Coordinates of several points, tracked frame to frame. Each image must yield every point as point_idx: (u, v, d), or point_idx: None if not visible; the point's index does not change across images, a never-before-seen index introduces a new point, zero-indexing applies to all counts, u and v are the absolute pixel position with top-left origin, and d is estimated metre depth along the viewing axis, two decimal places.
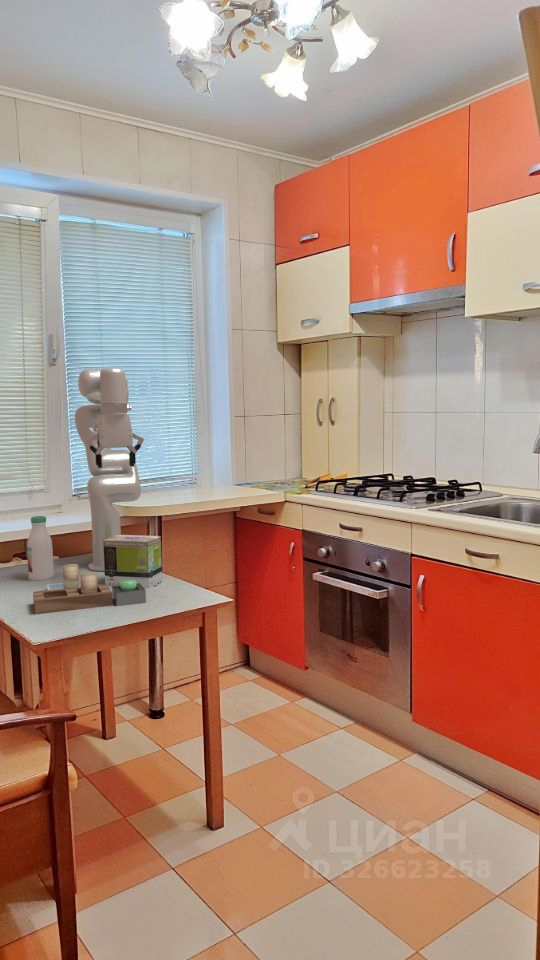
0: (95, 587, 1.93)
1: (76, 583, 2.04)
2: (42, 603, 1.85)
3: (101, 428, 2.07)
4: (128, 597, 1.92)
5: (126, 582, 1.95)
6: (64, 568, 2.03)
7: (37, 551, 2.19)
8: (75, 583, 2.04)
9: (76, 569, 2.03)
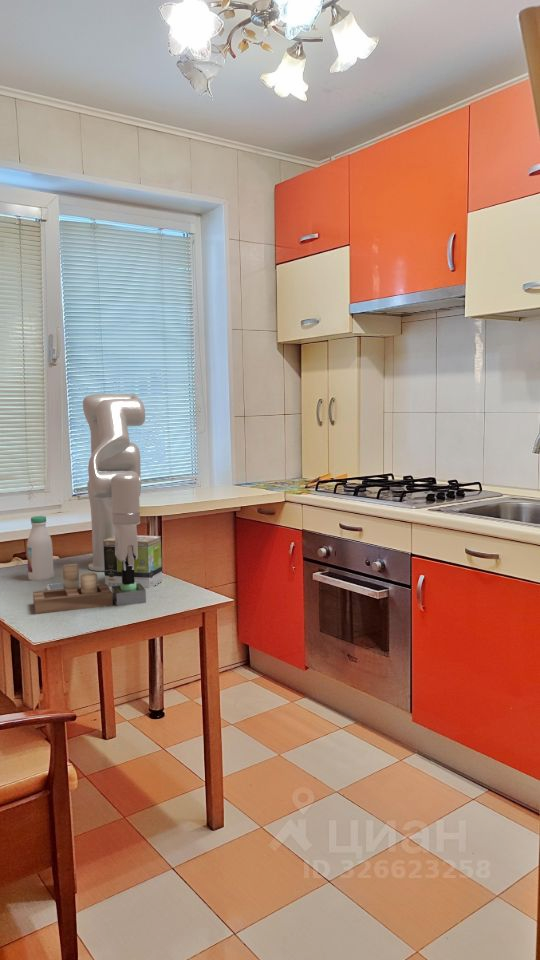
0: (95, 587, 1.93)
1: (76, 583, 2.04)
2: (42, 603, 1.85)
3: None
4: (128, 597, 1.92)
5: (126, 584, 1.95)
6: (64, 568, 2.03)
7: (37, 551, 2.19)
8: (75, 583, 2.04)
9: (76, 569, 2.03)
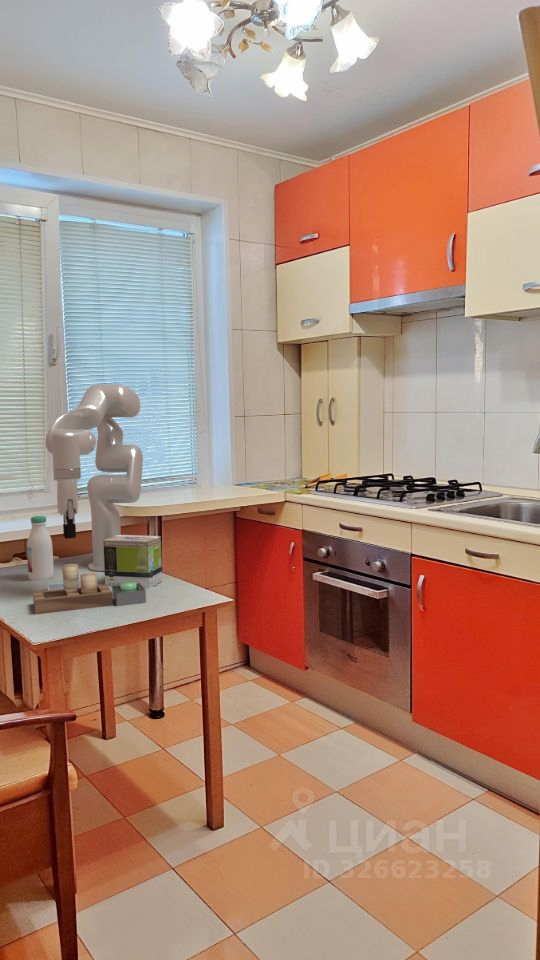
0: (95, 587, 1.93)
1: (76, 583, 2.04)
2: (42, 603, 1.85)
3: None
4: (128, 597, 1.92)
5: (126, 584, 1.95)
6: (64, 568, 2.03)
7: (37, 551, 2.19)
8: (75, 583, 2.04)
9: (76, 569, 2.03)
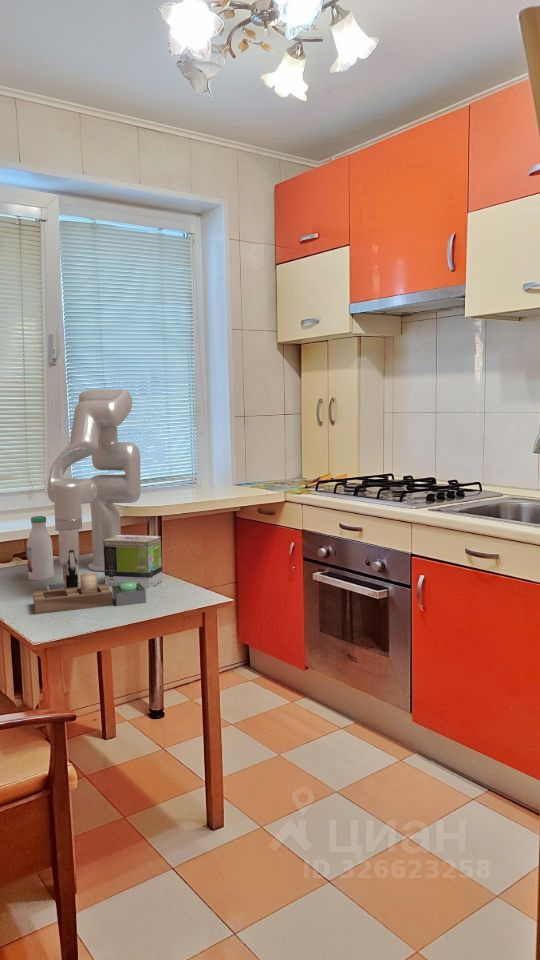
0: (95, 587, 1.93)
1: None
2: (42, 603, 1.85)
3: (78, 544, 2.00)
4: (128, 597, 1.92)
5: (126, 584, 1.95)
6: (64, 568, 2.03)
7: (37, 551, 2.19)
8: None
9: None
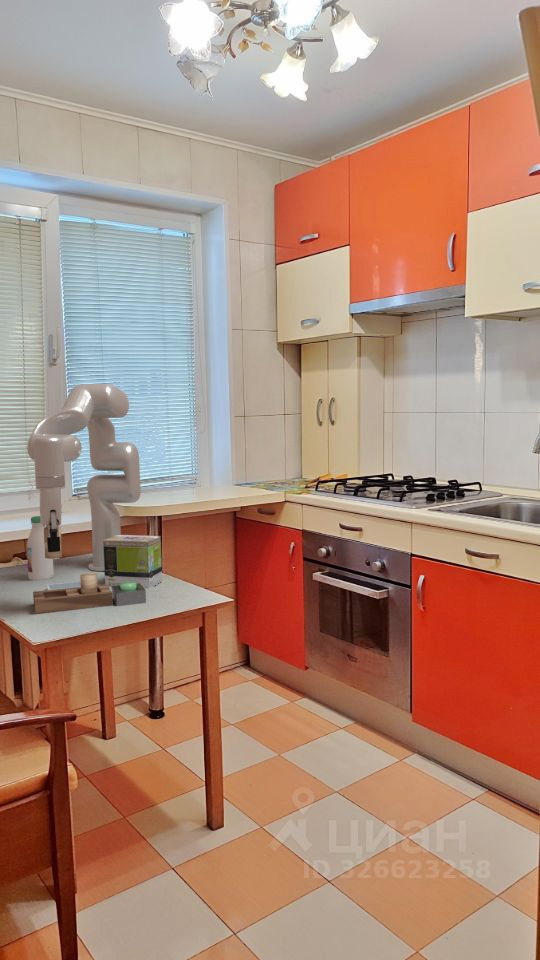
0: (95, 587, 1.93)
1: None
2: (42, 603, 1.85)
3: (60, 504, 1.85)
4: (128, 597, 1.92)
5: (126, 584, 1.95)
6: (45, 530, 1.87)
7: (37, 551, 2.19)
8: None
9: None
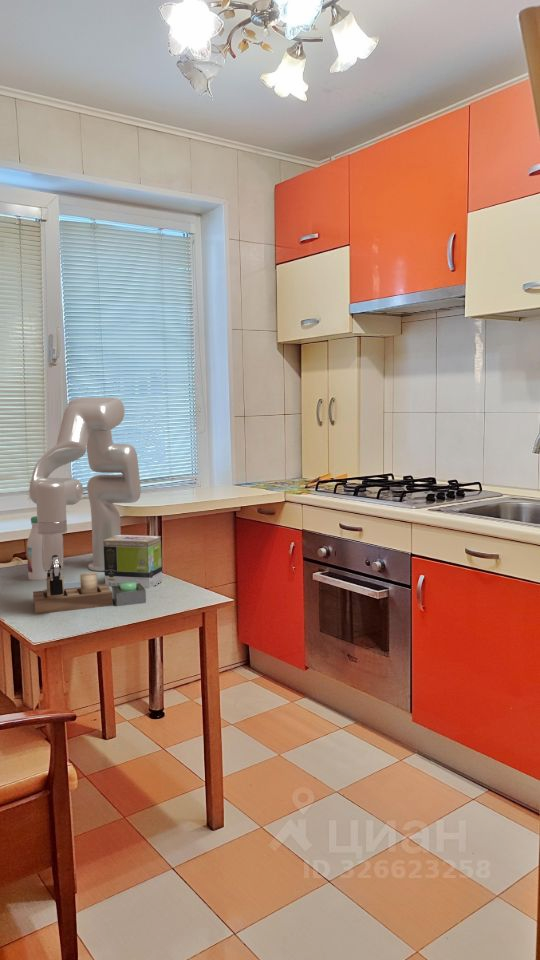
0: (95, 587, 1.93)
1: None
2: (42, 603, 1.85)
3: (62, 549, 1.86)
4: (128, 597, 1.92)
5: (126, 584, 1.95)
6: (48, 580, 1.89)
7: (37, 551, 2.19)
8: None
9: None
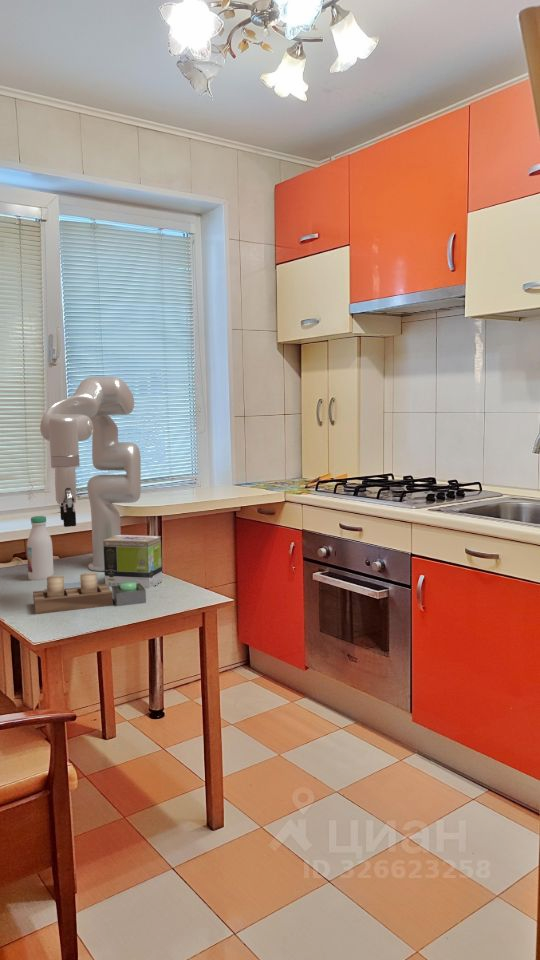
0: (95, 587, 1.93)
1: None
2: (42, 603, 1.85)
3: (75, 482, 1.90)
4: (128, 597, 1.92)
5: (126, 584, 1.95)
6: (49, 580, 1.89)
7: (37, 551, 2.19)
8: None
9: (61, 580, 1.90)
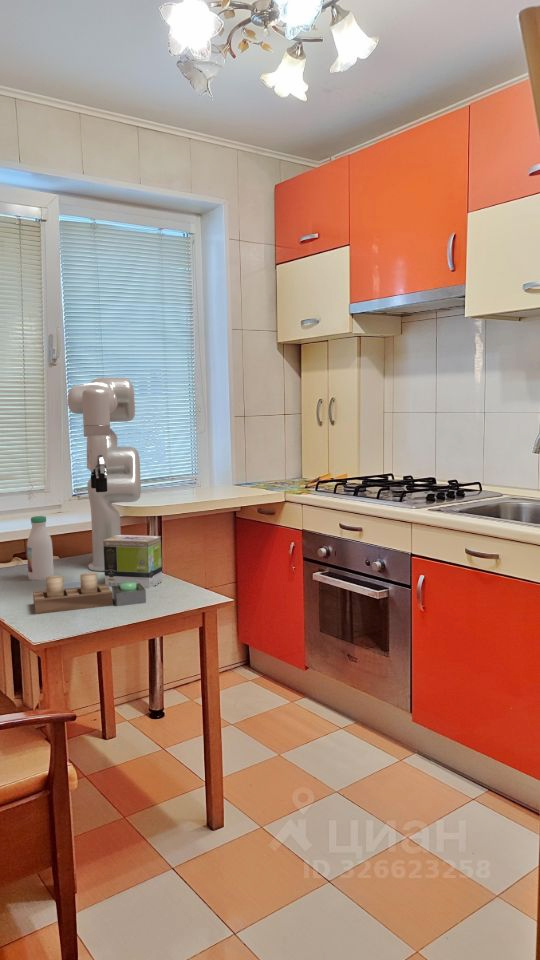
0: (95, 587, 1.93)
1: None
2: (42, 603, 1.85)
3: (107, 450, 2.01)
4: (128, 597, 1.92)
5: (126, 584, 1.95)
6: (48, 580, 1.89)
7: (37, 551, 2.19)
8: None
9: (61, 580, 1.90)
